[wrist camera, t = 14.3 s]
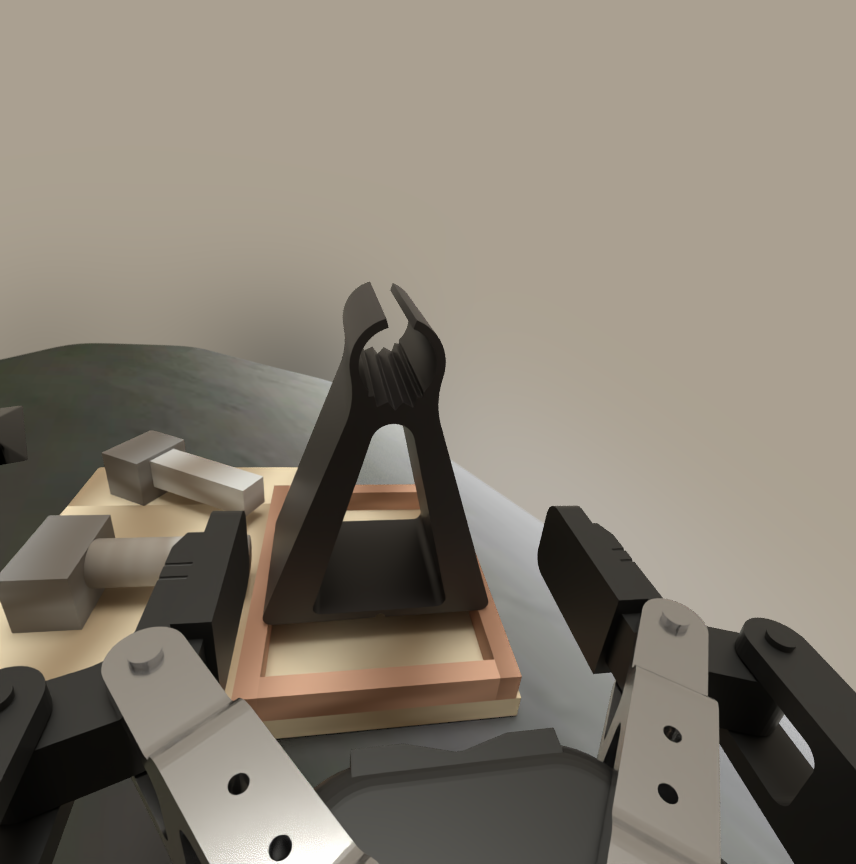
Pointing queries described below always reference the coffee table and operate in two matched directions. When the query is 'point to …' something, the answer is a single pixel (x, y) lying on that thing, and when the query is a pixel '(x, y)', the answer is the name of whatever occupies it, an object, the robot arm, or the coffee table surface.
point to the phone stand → (336, 478)
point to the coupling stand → (256, 641)
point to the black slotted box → (12, 435)
